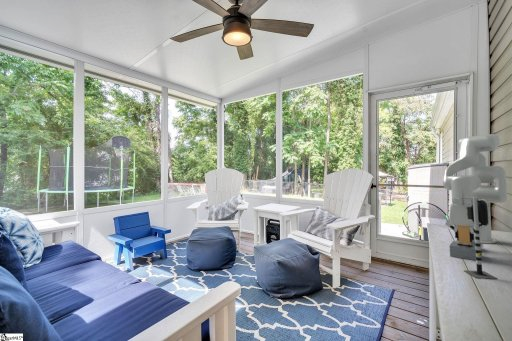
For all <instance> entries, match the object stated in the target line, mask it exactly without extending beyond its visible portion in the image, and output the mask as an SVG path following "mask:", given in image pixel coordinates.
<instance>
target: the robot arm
mask: <svg viewBox="0 0 512 341" xmlns="http://www.w3.org/2000/svg"><path fill="white" fill-rule="evenodd" d="M500 141H501V140H500V137H499V135H498V134H495V133H492V134H491V133H490V134H482V135H473V136H466V137H463V138H460V139H458V141H457V144H458V151H457V159H455V160H454V161H453V162H451V163H450V164H449V165H448V166H447V167H446V168H445V170H444V173H443V179H442V184H443V188H444V189H446V190H448V191H451V204H450V207H449V218H448V219H447V221H446V222H445V223H444V224H445V225H446V226H447V227H449V228H450V229H452V231H453V232H454V235H455V236H454V238H455V239H456V241H457V240H458V241H459V236H458V226H457V225H459V226H470V228H469V229H470V242H472V240H474V236H475V226H474V222H473V221H472V220H471V219H468V216H467V207H471V206H472V205H473V197H477V199H478V200H480V199H484V200H486V201H487V202H488V204H489V203H491V204H492V203H494V204H502V203H505V202H507V200H508V184H507V175H506V170H505V169H504V167H503V166H500V165H487V158H486V156H485V155H484V154H483V152H494V151H496V150H497V149H498V148H499V147H500V143H501V142H500ZM464 170H466V175H465V174H464V175H455V174H457V173H458V172H461V171H464ZM482 184H494V185H482ZM489 218H490V219H489V220H490V224H489V225H488V226H483V225H482V226H480V228H479V235H480V243H482V244H496V243H497V240H496V239H494V238H493V236H492V222H491V211H490V209H489ZM479 224H480V223H479Z"/></svg>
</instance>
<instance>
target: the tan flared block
mask: <svg viewBox="0 0 512 341" xmlns="http://www.w3.org/2000/svg"><path fill="white" fill-rule="evenodd" d="M457 226H458V236H459V243H461V244H468V245H470V244H471V242H470V229H469V228H470V226H459V225H457Z"/></svg>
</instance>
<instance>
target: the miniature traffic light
mask: <svg viewBox="0 0 512 341" xmlns="http://www.w3.org/2000/svg"><path fill="white" fill-rule="evenodd" d="M489 210H490V205H489V202H487V201H486V200H484V199H480V200H478V199H477V197H473V205H472V206H471V207H467V216H468V219H471V220H472V221H473V222H474V226H475V249H476V260H475V261H476V262H475V263H476V270H463V272H465V273H466V274H468V275H470V276H471V277H472V278H474V277H475V279H481V278H488V279H487V280H498V278H497V277H496V276H494V275H492V274H491V273H488V272H486V271H484V270H483V260H482V256H483V254H482V248H481V243H480V235H479V228H480V226H482V225H483V226H488V225H489V224H490V220H489V219H490V218H491V217H490V218H489ZM479 223H480V224H479Z"/></svg>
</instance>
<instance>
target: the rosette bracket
mask: <svg viewBox="0 0 512 341" xmlns="http://www.w3.org/2000/svg"><path fill="white" fill-rule="evenodd" d="M482 248H484V243H481V249H482ZM449 257H452V258H458V259H463V260H464V259H465V260H471V261H476V249H475V236H474V240H472V242H471V244H470V245H468V244H461V243H459V241H458V240H457V239H456V240H454V241H452V242H451V243H450V245H449Z"/></svg>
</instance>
